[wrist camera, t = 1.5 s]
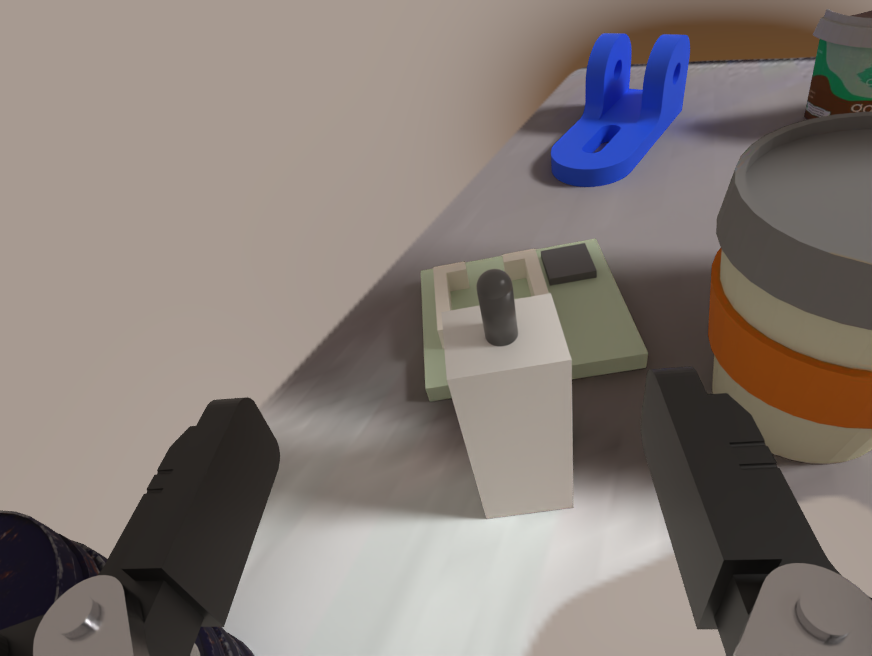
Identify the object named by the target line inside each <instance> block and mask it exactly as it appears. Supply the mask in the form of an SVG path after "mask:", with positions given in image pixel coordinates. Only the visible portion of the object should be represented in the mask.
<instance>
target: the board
mask: <svg viewBox="0 0 872 656" xmlns="http://www.w3.org/2000/svg"><path fill="white" fill-rule="evenodd" d="M490 269H500V270H502V271H504V272H506V273H507V274H508V275H509V277H510V278H511V281H512V285H513V293H514V299H520V298H525V297H531V296H537V295H542V294H548V293H551V295H552V298H553V302H554V305H555V308H556V311H557V314H558V318H559V321H560V324H561V327H562V330H563V334H564V337H565V340H566V343H567V346H568V350H569V353H570V356H571V359H572V379H578V378H584V377H590V376H597V375H603V374H610V373H616V372H622V371H629V370H635V369H641V368H646V365H647V358H648V352H647V349H646V347H645V345H644V343H643V341H642V339H641V336H640V334H639V332H638V330H637V328H636V325H635V323H634V321H633V319H632V317H631V315H630V312H629V310H628V308H627V306H626V304H625V301H624V299H623V297H622V295H621V293H620V291H619V288H618V286H617V284H616V282H615V280H614V277H613V275H612V273H611V271H610V269H609V267H608V264H607V262H606V260H605V258H604V256H603V253H602V251H601V249H600V247H599V245H598V243H597V240H596V239H591V240H586V241H580V242H575V243H569V244H564V245H558V246H553V247H547V248H542V249H537V250H535V249H529V250H524V251H519V252H513V253H508V254H502V256H498V257H493V258H488V259H482V260H477V261H471V262H466V263H465V261H464V262H459V263H453V264H448V265H442V266H437V267H433V269H428V270H422V271H421V292H422V317H423V342H424V366H425V389H426V392H427V395H428V398H429V401H430V402H431V401H437V400H444V399H450V398H452V396H451V393H450V389H449V386H448V382H447V376H446V364H445V351H444V339H443V326H442V313H441V312H445V311H451V310H457V309H462V308H468V307H474V306H479V300H478V295H477V281H478V279H479V277H480V276H481V275H482V274H483V273H484V272H485V271H487V270H490Z"/></svg>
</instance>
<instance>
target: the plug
mask: <svg viewBox="0 0 872 656" xmlns="http://www.w3.org/2000/svg"><path fill="white" fill-rule="evenodd" d="M477 295H478V300H479V306H474V307H468V308H462V309H457V310H451V311H445V312H441V313H442V326H443V339H444V351H445V364H446V376H447V382H448V386H449V389H450V393H451V396H452V400H453V403H454V407H455V410H456V414H457V417H458V421H459V424H460V428H461V431H462V435H463V438H464V442H465V445H466V449H467V452H468V456H469V459H470V463H471V466H472V470H473V473H474V477H475V481H476V484H477V488H478V491H479V495H480V498H481V502H482V505H483V509H484V512H485V516H486V519H489V518H497V517H505V516H512V515H520V514H527V513H535V512H543V511H550V510H558V509H565V508H573V431H572V359H571V356H570V353H569V350H568V346H567V343H566V340H565V337H564V334H563V330H562V327H561V324H560V321H559V318H558V314H557V311H556V308H555V305H554V302H553V298H552V295H551V293H548V294H542V295H537V296H531V297H525V298H520V299H514V293H513V285H512V281H511V278H510V277H509V275H508V274H507V273H506V272H504V271H502V270H500V269H490V270H487V271H485V272H484V273H483V274H482V275H481V276H480V277H479V279H478V281H477Z"/></svg>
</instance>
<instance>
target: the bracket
mask: <svg viewBox="0 0 872 656" xmlns="http://www.w3.org/2000/svg"><path fill="white" fill-rule="evenodd" d="M689 54H690V42H689V38H688V36H687V35H661V36H660V37H659V38H658V40H657V41H656V43H655V45H654V47H653V49H652V51H651V54H650V57H649V60H648V63H647V67H646V71H645V76H644V82H643V90H637V89H629V82H630V67H631V43H630V39H629V37H628V36H627V35H626V34H607V33H605V34H602V35H601V36H600V37H599V38H598V40H597V41H596V42H595V45H594V46H593V49H592V51H591V54H590V57H589V61H588V66H587V72H586V103H585V109H584V113H583V115H582V117H581V118H580V119H579V120H578V121H577V122H576V123H575V124H574V125H573V126H572V127H571V128H570V129H569V130H568V131H567V132H566V133H565V134H564V135H563V136H562V137H561V138H560V139H559V140H558V141H557V142H556V143H555V144H554V145H553V147H552V149H551V166H552V173H553V175H554V176H555V177H556V178H557V179H558V180H559V181H561V182H563V183H566V184H569V185H573V186H580V187H595V186H602V185H607V184H611V183H614V182H616V181H619V180H621V179H623V178H624V177H626V176H627V175H628V174H629V173H630V172H631V171H632V170H633V169H634V168H635V166H636V165H637V164H638V163H639V162H640V160H641V159H642V158H643V157H644V155H645V154H646V153H647V152H648V151H649V149H650V148H651V147H652V146H653V145H654V143H655V142H656V141H657V140H658V138H659V137H660V136H661V135H662V134H663V132H664V131H665V130H666V129H667V128H668V126H669V125H670V124H671V123H672V121H673V120H674V119H675V118H676V117H677V115H678V114H679V113H680V112H681V111H682V105H683V98H684V91H685V84H686V77H687V70H688V63H689ZM605 142H609V143H608V144H607V145H606V146H605V147H604V148H603V149H602V150H601V151H599V152H596V153H593V152H594V151H595V150H596V149H597V148H598V147H599V146H600V145H601V144H602V143H605Z"/></svg>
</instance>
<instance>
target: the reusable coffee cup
mask: <svg viewBox="0 0 872 656" xmlns="http://www.w3.org/2000/svg"><path fill="white" fill-rule="evenodd" d="M716 234H717V237H718V240H719V243H720V246H721V248H720V249H719V251H718V252H717V254H716V256H715V259H714V261H713V264H712V272H711V290H710V307H709V326H708V337H709V341H710V345H711V349H712V351H713V353H714V367H713V382H712V392H713V394H720V393H728V394H729V395H730V396H731V397H732V398H733V399H734V400H735V401H737V402H738V403H739V404H740V405H741V406H742V407H743V408H744V409H746V410H747V411H748V412H749V413H750V414H751V415H752V417H753V419H754V421H755V423H756V425H757V426H758V428H759V430H760V432H761V434H762V436H763V438H764V440H765V445H766V446H768V447H769V449H770V451H771V453H772V454H775V455H778V456H781V457H784V458H787V459H790V460H795V461H800V462H805V463H817V464H831V463H840V462H846V461H849V460H852V459H855V458H859V457H861V456H862V455H864V454H866V453H867V452H869V451H871V450H872V112H855V113H845V114H835V115H829V116H824V117H819V118H813V119H808V120H805V121H801V122H798V123H794V124H791V125H788V126H785V127H782V128H780V129H778V130H776V131H773V132H771V133H769V134H767V135H765V136H764V137H762V138H761V139H759V140H758V141H756V142H755V143H753V144H752V145H751V146H750V147H749V148H748V149H747V150H746V151H745V152H744V153H743V154H742V155H741V157H740V159H739V161H738V164H737V166H736V168H735V171H734V174H733V176H732V179H731V182H730V184H729V187H728V190H727V192H726V195H725V198H724V201H723V203H722V206H721V209H720V211H719V214H718V217H717V229H716Z"/></svg>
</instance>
